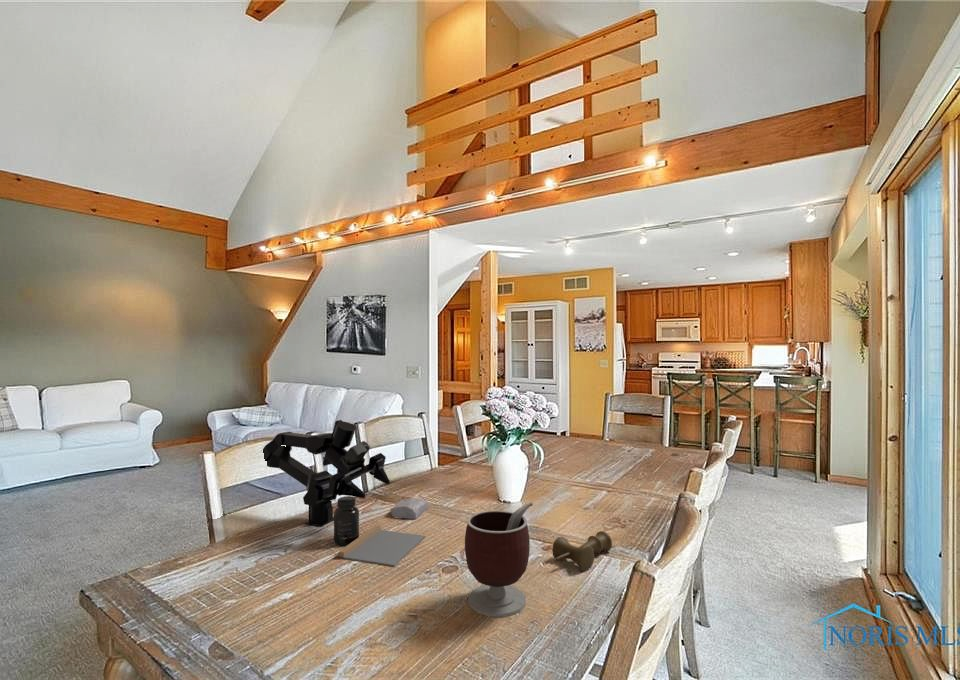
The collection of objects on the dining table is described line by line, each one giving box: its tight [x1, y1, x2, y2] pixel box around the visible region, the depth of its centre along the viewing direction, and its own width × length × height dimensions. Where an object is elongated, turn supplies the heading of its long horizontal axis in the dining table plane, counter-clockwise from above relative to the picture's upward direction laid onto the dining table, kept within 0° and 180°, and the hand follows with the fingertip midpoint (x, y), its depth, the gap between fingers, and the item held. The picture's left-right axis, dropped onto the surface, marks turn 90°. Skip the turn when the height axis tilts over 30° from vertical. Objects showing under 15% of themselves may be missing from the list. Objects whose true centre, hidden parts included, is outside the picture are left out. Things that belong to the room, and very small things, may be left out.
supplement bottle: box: [333, 495, 360, 547], centre depth 133 cm, size 7×7×12 cm
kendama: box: [551, 530, 613, 572], centre depth 122 cm, size 6×10×20 cm
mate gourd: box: [464, 501, 533, 618], centre depth 102 cm, size 16×14×20 cm
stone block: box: [390, 497, 429, 520], centre depth 156 cm, size 12×5×10 cm
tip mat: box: [337, 524, 426, 567], centre depth 129 cm, size 16×19×2 cm
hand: (377, 489), depth 135 cm, fingers open, 9 cm apart
